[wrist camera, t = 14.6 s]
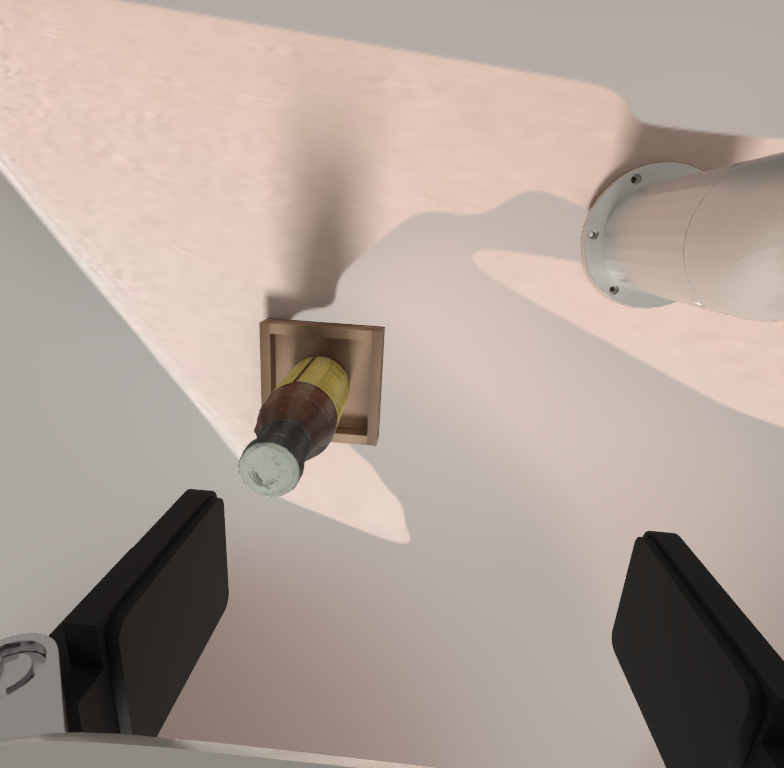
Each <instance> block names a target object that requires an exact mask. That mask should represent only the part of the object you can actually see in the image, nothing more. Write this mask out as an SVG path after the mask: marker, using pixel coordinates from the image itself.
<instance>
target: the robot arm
mask: <svg viewBox="0 0 784 768" xmlns="http://www.w3.org/2000/svg"><path fill="white" fill-rule="evenodd" d="M632 177H634V179H635V181H634V183H632V182H631V178H632ZM590 232H593V236H592V237H589V233H590ZM581 255H582V261H583V265H584V268H585V270H586V273H587V276H588V277H589V279H590V280H591V282H592V283H593V285H594V286H595V287H596V288H597V289H598V290H599V291H600V292H601V293H602V294H603V295H605V296H606V297H608V298H609V299H611V300H612V301H615V302H617V303H620V304H622V305H626V306H629V307H633V308H645V309H648V308H657V307H662V306H666V305H669V304H673V303H675V302H680V303H684V304H688V305H691V306H695V307H699V308H702V309H706V310H710V311H713V312H717V313H721V314H725V315H729V316H733V317H737V318H741V319H745V320H751V321H759V322H776V321H784V152H783V153H779V154H774V155H770V156H766V157H762V158H758V159H753V160H749V161H745V162H740V163H736V164H732V165H727V166H723V167H719V168H714V169H710V170H705V171H701V170H700V169H698V168H696V167H693V166H690V165H688V164H684V163H678V162H657V163H653V164H649V165H645V166H642V167H639V168H636V169H634V170H631V171H630V172H628V173H626V174H624V175H622V176H621V177H619V178H618V179H617V180H615V181H614V182H613V183H612V184H610V185H609V186H608V187H607V188H606V189H605V190H604V191H603V192H602V194H601V195H600V196H599V197H598V198H597V200H596V201H595V203H594V204H593V206H592V208H591V209H590V211H589V213H588V216H587V218H586V221H585V223H584V227H583V232H582V236H581ZM610 287H613V291H611V292H610V291H609V289H610ZM228 596H229V591H228V573H227V553H226V536H225V518H224V502H223V500H222V499H221V498H217V495H216V493H215V492H214V491H207V490H195V489H188V490H187V491H186V492H185V493H184V494H183V495H182V496H181V497H180V498H179V499H178V500H177V501H176V502H175V503H174V504H173V506H172V507H171V508H170V509H169V510H168V511H167V512H166V513H165V514H164V515H163V516H162V517H161V518H160V519H159V521H157V523H156V524H155V525H154V526H153V527H152V528H151V529H150V530H149V531H148V532H147V533H146V534H145V535H144V536H143V537H142V538H141V539H140V541H139V542H138V543H137V544H136V545H135V546H134V547H133V548H131V549H130V550H129V551H128V552H127V553H126V554H125V555H124V557H123V558H122V559H121V560H120V561H119V562H118V563H117V564H116V565H115V566H114V567H113V568H112V569H111V570H110V572H108V573H107V575H106V576H105V577H104V578H103V579H102V580H101V581H100V582H99V583H98V584H97V585H96V586H95V587H94V588H93V589H92V590H91V592H90V593H89V594H88V595H87V596H86V597H85V598H84V599H83V600H82V601H81V602H80V603H79V604H78V605H77V606H76V607H75V608H74V610H73V611H72V612H71V613H70V614H69V615H68V616H67V617H66V618H65V619H64V620H63V621H62V622H61V623H60V624H59V625H58V626H57V628H56V629H55V630H54V631H53V632H52V633H51V634H50V635H49V636H47V635H43V634H37V633H29V634H19V635H16V636H12V637H8V638H4V639H2V640H0V768H433V767H425V766H417V765H408V764H400V763H391V762H383V761H373V760H365V759H357V758H349V757H340V756H331V755H321V754H313V753H304V752H295V751H286V750H277V749H267V748H259V747H250V746H241V745H232V744H223V743H214V742H203V741H193V740H182V739H171V738H161V737H157V735H158V733H159V732H160V730H161V728H162V726H163V724H164V722H165V720H166V719H167V716H168V715H169V713H170V711H171V709H172V707H173V706H174V704H175V702H176V700H177V698H178V696H179V694H180V692H181V691H182V689H183V687H184V685H185V683H186V681H187V679H188V678H189V676H190V674H191V672H192V670H193V668H194V666H195V665H196V662H197V661H198V659H199V657H200V655H201V653H202V652H203V650H204V648H205V646H206V644H207V642H208V641H209V639H210V637H211V635H212V633H213V631H214V629H215V628H216V626H217V624H218V622H219V620H220V618H221V617H222V615H223V613H224V611H225V609H226V606H227V602H228ZM612 645H613V649H614V652H615V654H616V656H617V659H618V661H619V663H620V665H621V668H622V670H623V672H624V674H625V676H626V679H627V681H628V683H629V685H630V687H631V690H632V692H633V694H634V697H635V699H636V701H637V703H638V705H639V707H640V710H641V712H642V714H643V717H644V719H645V721H646V723H647V726H648V728H649V730H650V732H651V735H652V737H653V739H654V741H655V743H656V745H657V748H658V750H659V752H660V755H661V757H662V759H663V761H664V764H665V766H666V768H784V661H783V660H782V659H781V657H780V656H779V655H778V654H777V653H776V651H775V650H774V649H773V648H772V647H771V645H770V644H769V643H768V642H767V640H766V639H765V638H764V637H763V636H762V634H761V633H760V632H759V631H758V630H757V629H756V627H755V626H754V625H753V624H752V623H751V621H750V620H749V619H748V618H747V617H746V615H745V614H744V613H743V612H742V611H741V610H740V608H739V607H738V606H737V605H736V604H735V602H734V601H733V600H732V599H731V597H730V596H729V595H728V594H727V593H726V591H725V590H724V589H723V588H722V587H721V585H720V584H719V583H718V582H717V581H716V579H715V578H714V577H713V576H712V575H711V573H710V572H709V571H708V570H707V569H706V567H705V566H704V565H703V564H702V563H701V561H700V560H699V559H698V558H697V557H696V556H695V554H694V553H693V552H692V551H691V549H690V548H689V547H688V546H687V545H686V543H684V541H683V540H682V539H681V537H680V536H678V535H677V534H675V533H666V532H655V531H647V532H646V533H645V534H644V535H643V537H638V538H637V539H636V541H635V544H634V547H633V552H632V555H631V559H630V563H629V567H628V571H627V575H626V579H625V583H624V587H623V591H622V595H621V599H620V603H619V607H618V611H617V615H616V619H615V623H614V627H613V631H612Z"/></svg>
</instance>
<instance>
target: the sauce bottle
mask: <svg viewBox="0 0 784 768" xmlns="http://www.w3.org/2000/svg"><path fill="white" fill-rule="evenodd" d="M349 390H350V381H349V378H348V374H347V373H346V370H345V369H344V368H343V366H342V365H341V363H340V362H339V361H337V360H335V359H333V358H331V357H327V356H323V355H313V356H310V357H308V358H306V359H304V360H302V361H300V362H299V363H298V364H296V365H295V366H294V367H293V369H292V370H291V371H290V372H289V373H288V375H287V376H286V377H285V378H284V379H283V380H282V382H281V383H280V384H279V385H278V386H277V387H276V388H275V390H274V391H273V392H272V393H271V394H270V396H269V397H268V399H267V401H266V402H265V403H264V404H263V406H262V407H261V409H260V413H259V415H258V418H257V424H256V427H255V430H254V432H255V433H256V436H257V439H255V440H253V441H252V442H251V443H250V444H249V445H248V446H247V447H246V449H245V450H244V452H243V454H242V456H241V458H240V461H239V473H240V475H241V478H242V480H243V482H244V483H245V484H246V485H247V486H248V487H249V488H250V489H251V490H253V491H255V492H256V493H258V494H260V495H263V496H268V497H279V496H282V495H285V494H286V493H288V492H289V491H291V490H293V489H294V488H295V486H296V485H297V483H298V481H299V479H300V478H301V476H302V474H303V470H304V462H305V461H307V460H309V459H311V458H313V457H315V456H317V455H319V454H320V453H321V452H323V451H324V450H325V449H326V447H327V446H328V445H329V443H330V442H331V440H332V438H333V436H334V433H335V431H336V428H337V425H338V422H339V420H340V417H341V414H342V412H343V409H344V407H345V404H346V402H347V399H348V396H349Z"/></svg>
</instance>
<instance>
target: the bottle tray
mask: <svg viewBox="0 0 784 768" xmlns="http://www.w3.org/2000/svg"><path fill="white" fill-rule="evenodd" d="M384 330H385V327H380V326H366V325H352V324H339V323H325V322H311V321H297V320H283V319H270V318H268V319H266V320H264V321H262V322H260V358H261V398H262V406H263V404H264V403H265V402H266V401H267V399H268V397H269V396H270V394H271V393H272V392H273V391H274V390H275V388H276V387H277V386H278V385H279V384H280V383H281V382H282V380H283V379H284V378H285V377H286V376H287V375H288V373H289V372H290V371H291V370H292V369H293V367H294V366H295V365H296V364H298V363H299V362H300V361H302V360H304V359H306V358H308V357H310V356H313V355H323V356H327V357H331V358H333V359H335V360H337V361H339V362H340V363H341V365H342V366H343V368H344V369H345V370H346V373H347V374H348V378H349V381H350V390H349V396H348V399H347V402H346V404H345V407H344V409H343V412H342V414H341V417H340V420H339V422H338V425H337V428H336V431H335V433H334V436H333V438H332V440H331V442H338V443H350V444H362V445H374V446H376V445H377V441H378V437H379V420H380V403H381V385H382V367H383V349H384V348H383V347H384Z"/></svg>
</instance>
